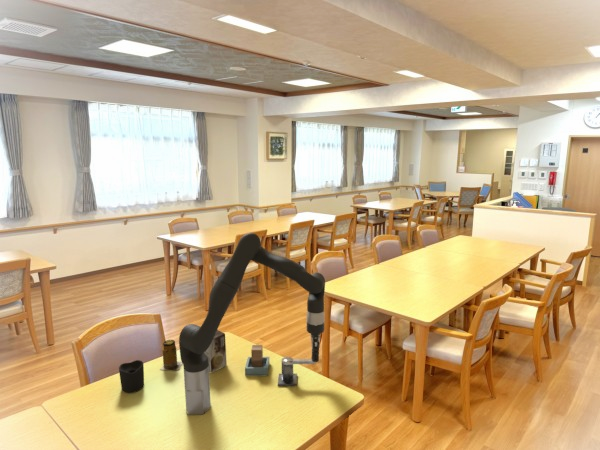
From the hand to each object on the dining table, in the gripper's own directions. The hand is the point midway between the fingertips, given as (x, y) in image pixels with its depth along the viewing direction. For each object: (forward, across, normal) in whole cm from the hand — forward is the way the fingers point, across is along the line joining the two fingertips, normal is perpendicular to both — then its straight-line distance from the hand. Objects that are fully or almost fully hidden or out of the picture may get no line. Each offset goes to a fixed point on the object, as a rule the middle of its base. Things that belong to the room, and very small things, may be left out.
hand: (315, 357), depth 167 cm
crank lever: (+3, 0, -6) cm, 7 cm away
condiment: (+11, -12, -66) cm, 68 cm away
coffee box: (+11, -11, -46) cm, 49 cm away
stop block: (+10, -9, -26) cm, 29 cm away
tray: (+11, -9, -26) cm, 30 cm away
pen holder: (+11, +5, -77) cm, 78 cm away
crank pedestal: (+11, -8, -12) cm, 18 cm away
